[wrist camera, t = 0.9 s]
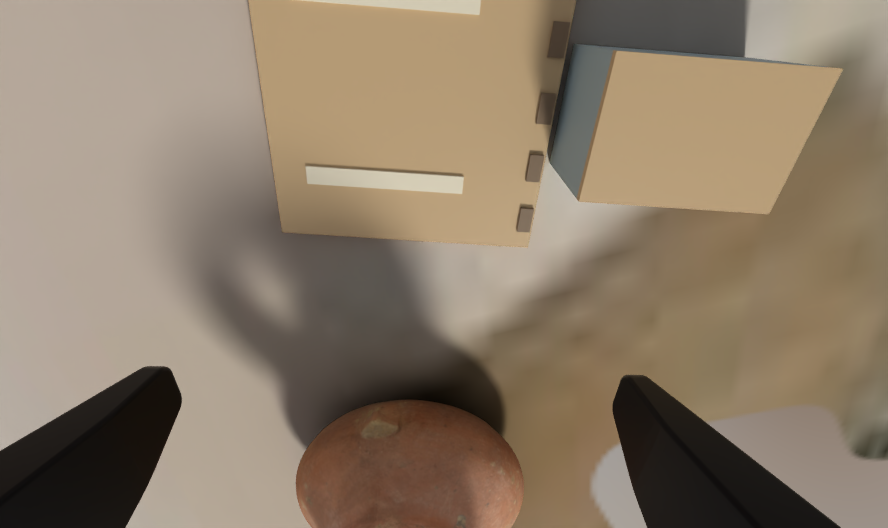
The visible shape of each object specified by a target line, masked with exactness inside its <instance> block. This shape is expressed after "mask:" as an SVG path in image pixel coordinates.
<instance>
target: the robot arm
mask: <svg viewBox="0 0 888 528" xmlns="http://www.w3.org/2000/svg"><path fill="white" fill-rule="evenodd" d="M181 403H182V397H181V393H180V390H179V388H178V385H177V383H176V380H175V378H174V376H173V373H172V371H171V370H170V369H169V368H168V367H164V366H147V367H143V368H141V369H139V370H138V371H136V372H134V373H132V374H131V375H129V376H127V377H126V378H124V379H122V380H121V381H119V382H117V383H115V384H114V385H112V386H110V387H109V388H107V389H105V390H103V391H102V392H100V393H98V394H97V395H95V396H93V397H92V398H90V399H88V400H86V401H85V402H83V403H81V404H80V405H78V406H76V407H74V408H73V409H71V410H69V411H68V412H66V413H64V414H62V415H61V416H59V417H57V418H56V419H54V420H52V421H51V422H49V423H47V424H45V425H44V426H42V427H40V428H39V429H37V430H35V431H33V432H32V433H30V434H28V435H27V436H25V437H23V438H21V439H20V440H18V441H16V442H15V443H13V444H11V445H10V446H8V447H6V448H4V449H3V450H1V451H0V528H125V527H126V525H127V524H128V522H129V520H130V518H131V516H132V514H133V512H134V510H135V509H136V507H137V505H138V503H139V501H140V499H141V497H142V495H143V493H144V491H145V489H146V488H147V486H148V483H149V481H150V479H151V477H152V475H153V472H154V470H155V468H156V465H157V463H158V461H159V458H160V456H161V453H162V451H163V449H164V446H165V444H166V441H167V439H168V437H169V434H170V432H171V429H172V427H173V425H174V422H175V420H176V417H177V415H178V413H179V410H180V407H181ZM613 415H614V419H615V423H616V427H617V431H618V435H619V438H620V442H621V446H622V450H623V453H624V457H625V461H626V465H627V469H628V472H629V476H630V479H631V483H632V486H633V490H634V493H635V496H636V498H637V501H638V504H639V507H640V509H641V512H642V514H643V517H644V520H645V522H646V525H647V528H841V527H840V526H838V525H837V524H836V523H834V522H833V521H832V520H831V519H829V518H828V517H827V516H825V515H824V514H823V513H822V512H820V511H819V510H818V509H816V508H815V507H814V506H813V505H811V504H810V503H809V502H807V501H806V500H805V499H804V498H802V497H801V496H800V495H798V494H797V493H796V492H795V491H793V490H792V489H791V488H789V487H788V486H787V485H785V484H784V483H783V482H782V481H780V480H779V479H778V478H776V477H775V476H774V475H773V474H771V473H770V472H769V471H768V470H766V469H765V468H763V467H762V466H761V465H759V464H758V463H757V462H756V461H755V460H753V459H752V458H751V457H750V456H748V455H747V454H746V453H744V452H743V451H741V449H739V448H738V447H737V446H735V445H734V444H733V443H731V442H730V441H729V440H728V439H726V438H725V437H724V436H723V435H721V434H720V433H719V432H717V431H716V430H715V429H714V428H712V427H711V426H710V425H708V424H707V423H706V422H705V421H703V420H702V419H701V418H699V417H698V416H697V415H696V414H694V413H693V412H692V411H690V410H689V409H688V408H687V407H685V406H684V405H683V404H681V403H680V402H679V401H678V400H676V399H675V398H674V397H672V396H671V395H670V394H669V393H667V392H666V391H665V390H663V389H662V388H661V387H660V386H658V385H657V384H656V383H654V382H653V381H652V380H651V379H649V378H648V377H646V376H643V375H625V376H623V377H622V379H621V381H620V384H619V387H618V390H617V392H616V395H615V398H614V401H613Z"/></svg>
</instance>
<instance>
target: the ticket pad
mask: <svg viewBox="0 0 888 528" xmlns="http://www.w3.org/2000/svg"><path fill="white" fill-rule="evenodd" d="M248 2H249V9H250V16H251V23H252V29H253V36H254V43H255V50H256V57H257V64H258V71H259V78H260V84H261V91H262V98H263V105H264V112H265V119H266V126H267V133H268V139H269V146H270V153H271V160H272V167H273V174H274V181H275V187H276V194H277V201H278V208H279V215H280V222H281V229H282V232H283V233H299V234H315V235H331V236H348V237H364V238H380V239H396V240H412V241H429V242H445V243H461V244H477V245H493V246H509V247H526V248H528V244H529V239H530V234H531V229H532V224H533V219H534V214H535V208H536V203H537V198H538V193H539V188H540V183H541V178H542V173H543V168H544V163H545V157H546V152H547V147H548V142H549V137H550V132H551V127H552V122H553V117H554V112H555V107H556V101H557V96H558V91H559V86H560V81H561V76H562V71H563V66H564V61H565V56H566V50H567V45H568V40H569V35H570V30H571V25H572V20H573V15H574V10H575V5H576V0H248Z"/></svg>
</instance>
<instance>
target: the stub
mask: <svg viewBox="0 0 888 528" xmlns="http://www.w3.org/2000/svg"><path fill="white" fill-rule="evenodd" d="M842 70H843V69H841V68H833V67H824V66H815V65H807V64H798V63H789V62H781V61H772V60H763V59H755V58H746V57H734V56H721V55H709V54H696V53H683V52H671V51H658V50H646V49H633V48H621V47H608V46H595V45H583V44H574V46H573V50H572V55H571V60H570V65H569V70H568V75H567V80H566V85H565V90H564V95H563V100H562V105H561V110H560V115H559V119H558V124H557V129H556V134H555V139H554V144H553V149H552V154H551V159H550V164H551V165H552V167H553V168H554V169H555V171H556V172H557V173H558V175H559V176H560V177H561V179H562V180H563V181H564V183H565V184H566V185H567V187H568V188H569V189H570V191H571V192H572V193H573V194H574V196H575V197H576V198H577V200H578V201H579V202H592V203H607V204H622V205H637V206H652V207H668V208H683V209H698V210H713V211H728V212H743V213H759V214H769V213H770V211H771V209H772V207H773V205H774V203H775V201H776V199H777V197H778V195H779V193H780V192H781V190H782V188H783V186H784V184H785V182H786V180H787V178H788V176H789V174H790V172H791V170H792V168H793V166H794V164H795V162H796V160H797V158H798V156H799V154H800V152H801V150H802V148H803V146H804V145H805V143H806V141H807V139H808V137H809V135H810V133H811V131H812V129H813V127H814V125H815V123H816V121H817V119H818V117H819V115H820V113H821V111H822V109H823V107H824V105H825V103H826V101H827V99H828V98H829V96H830V94H831V92H832V90H833V88H834V86H835V84H836V82H837V80H838V78H839V76H840V74H841V72H842Z"/></svg>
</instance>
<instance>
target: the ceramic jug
mask: <svg viewBox="0 0 888 528" xmlns="http://www.w3.org/2000/svg"><path fill="white" fill-rule="evenodd" d="M296 492H297V499H298V503H299V506H300V508H301V511H302V513H303V515H304V517H305V519H306V520H307V522H308V523H309V525H310V526H311V527H312V528H511V527H512V525H513V524H514V522H515V520H516V518H517V516H518V513H519V511H520V508H521V504H522V500H523V493H524V482H523V475H522V471H521V467H520V464H519V462H518V459H517V457H516V455H515V453H514V452H513V450H512V448H511V447H510V446H509V444H508V443H507V442H506V441H505V439H504V438H503V437H502V436H501V435H500V434H499V433H497V432H496V431H495V430H494V429H493V428H492V427H491V426H490V425H488V424H487V423H486V422H485V421H483V420H482V419H480V418H479V417H477V416H475V415H473V414H471V413H469V412H467V411H464V410H462V409H459V408H456V407H453V406H450V405H446V404H442V403H437V402H431V401H424V400H393V401H386V402H379V403H374V404H370V405H367V406H363V407H360V408H358V409H355V410H353V411H351V412H348V413H346V414H344V415H343V416H341V417H339V418H338V419H336V420H335V421H333V422H332V423H330V424H329V425H328V426H327V427H325V428H324V429H323V430H322V431H321V432H320V433H319V434H318V435H317V436H316V438H315V439H314V440H313V441H312V442H311V444H310V445H309V446H308V448H307V449H306V451H305V453H304V455H303V457H302V459H301V461H300V463H299V467H298V470H297V475H296Z"/></svg>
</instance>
